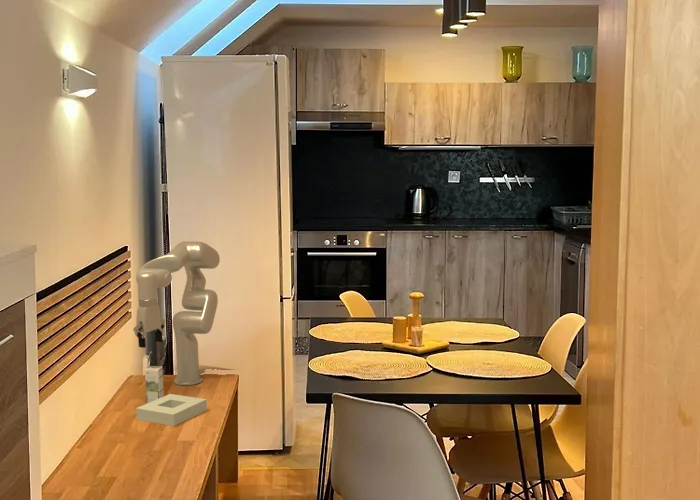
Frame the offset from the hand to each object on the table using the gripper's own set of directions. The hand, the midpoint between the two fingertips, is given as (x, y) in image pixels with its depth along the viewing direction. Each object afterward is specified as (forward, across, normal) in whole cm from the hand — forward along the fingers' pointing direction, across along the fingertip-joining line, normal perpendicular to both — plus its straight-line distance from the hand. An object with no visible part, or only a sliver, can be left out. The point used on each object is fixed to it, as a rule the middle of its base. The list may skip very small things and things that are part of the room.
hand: (150, 344), depth 328 cm
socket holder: (+24, +9, +18) cm, 31 cm away
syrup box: (+24, 0, 0) cm, 24 cm away
